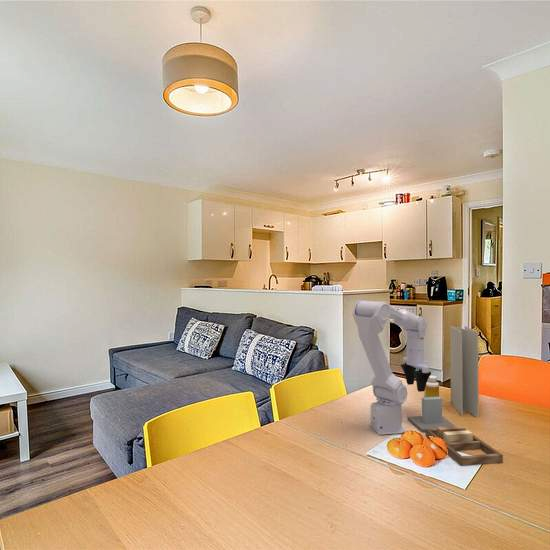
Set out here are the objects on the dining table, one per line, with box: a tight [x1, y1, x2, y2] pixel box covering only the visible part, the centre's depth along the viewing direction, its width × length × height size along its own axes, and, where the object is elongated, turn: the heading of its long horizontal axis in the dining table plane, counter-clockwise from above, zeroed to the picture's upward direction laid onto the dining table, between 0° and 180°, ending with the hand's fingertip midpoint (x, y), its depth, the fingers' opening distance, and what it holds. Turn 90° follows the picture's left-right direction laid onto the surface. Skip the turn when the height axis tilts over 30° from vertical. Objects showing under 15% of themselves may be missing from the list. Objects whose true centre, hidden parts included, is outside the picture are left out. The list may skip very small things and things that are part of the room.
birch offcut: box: [443, 429, 474, 443], centre depth 107 cm, size 8×2×4 cm, turn 96°
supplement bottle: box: [423, 374, 440, 398], centre depth 144 cm, size 5×5×10 cm
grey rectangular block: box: [421, 396, 443, 424], centre depth 122 cm, size 6×2×8 cm, turn 97°
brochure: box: [449, 325, 480, 418], centre depth 135 cm, size 14×6×30 cm, turn 168°
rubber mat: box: [407, 415, 456, 434], centre depth 122 cm, size 12×10×1 cm
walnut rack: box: [425, 428, 504, 467], centre depth 106 cm, size 12×18×2 cm, turn 6°
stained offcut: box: [437, 425, 466, 439], centre depth 111 cm, size 8×2×4 cm, turn 96°
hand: (415, 387), depth 129 cm, fingers open, 7 cm apart
